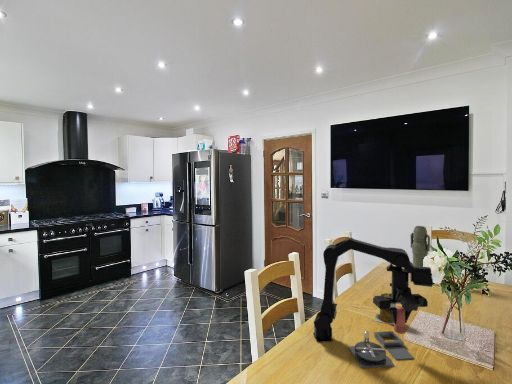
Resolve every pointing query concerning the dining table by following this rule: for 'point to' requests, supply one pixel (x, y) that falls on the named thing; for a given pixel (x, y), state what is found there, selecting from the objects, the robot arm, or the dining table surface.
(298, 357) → the dining table surface
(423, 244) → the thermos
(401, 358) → the mat
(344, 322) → the dining table surface
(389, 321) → the condiment
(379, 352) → the handwheel
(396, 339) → the collar
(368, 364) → the wheel base
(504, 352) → the dining table surface
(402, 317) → the pink rounded cylinder
